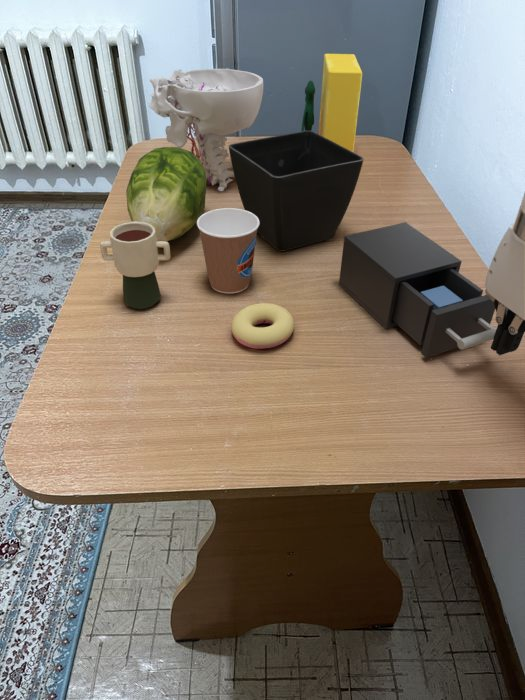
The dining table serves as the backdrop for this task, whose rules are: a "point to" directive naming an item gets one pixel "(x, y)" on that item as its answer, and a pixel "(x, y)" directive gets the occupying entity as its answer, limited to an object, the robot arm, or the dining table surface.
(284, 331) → the donut
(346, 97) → the yellow and green pieces
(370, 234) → the dark grey drawer cabinet
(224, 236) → the coffee cup
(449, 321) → the dark grey drawer
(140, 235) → the character mug
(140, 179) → the lettuce
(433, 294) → the block
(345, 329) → the dining table surface
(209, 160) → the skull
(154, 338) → the dining table surface
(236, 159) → the flower pot
